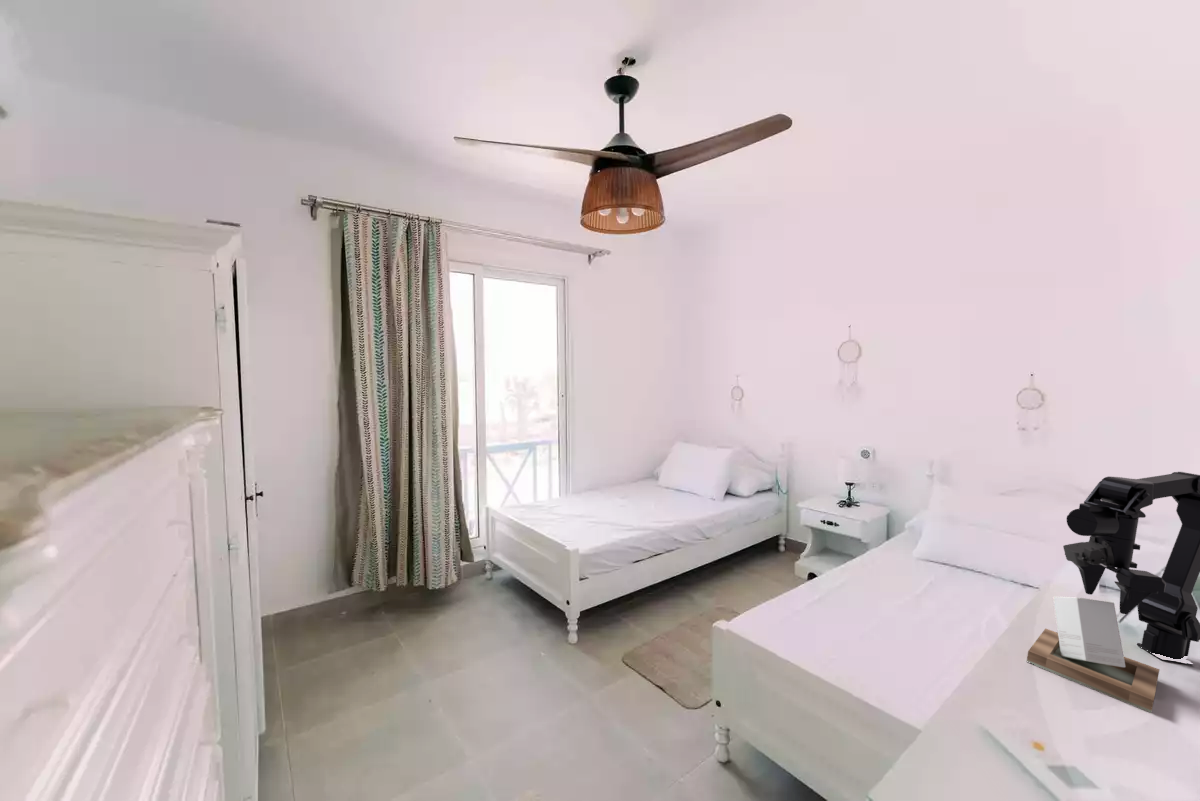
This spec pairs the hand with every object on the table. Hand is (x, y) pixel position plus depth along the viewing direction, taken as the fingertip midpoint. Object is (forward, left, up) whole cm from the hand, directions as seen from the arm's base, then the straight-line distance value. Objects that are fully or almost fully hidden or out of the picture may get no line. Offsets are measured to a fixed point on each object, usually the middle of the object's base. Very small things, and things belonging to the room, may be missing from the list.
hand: (1105, 603), depth 109 cm
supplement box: (+6, +7, -11) cm, 14 cm away
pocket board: (+6, +7, -13) cm, 16 cm away
